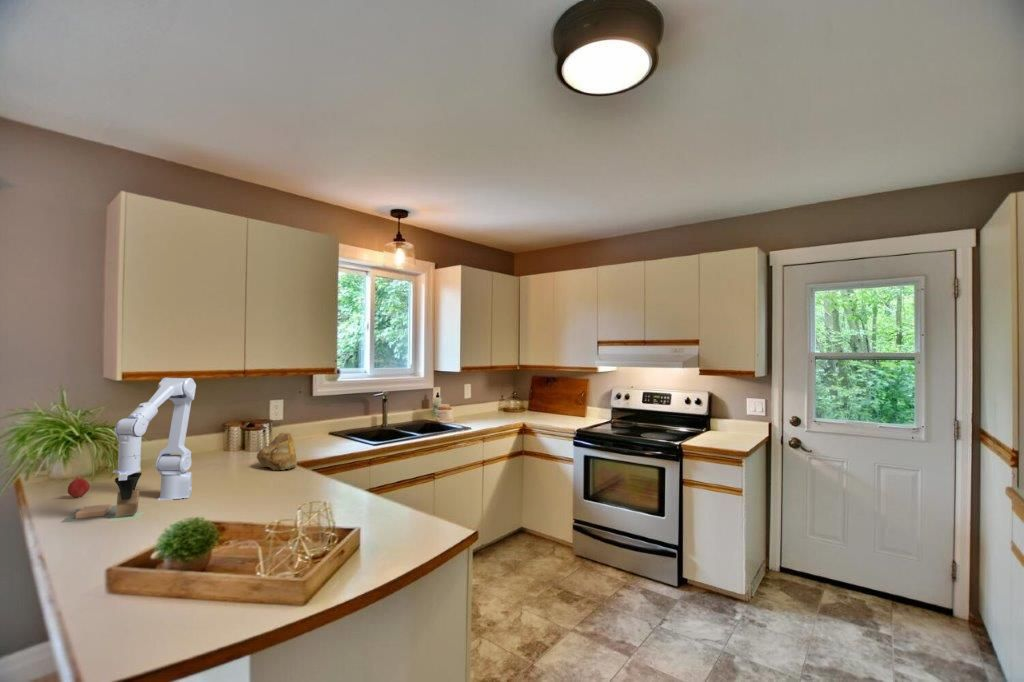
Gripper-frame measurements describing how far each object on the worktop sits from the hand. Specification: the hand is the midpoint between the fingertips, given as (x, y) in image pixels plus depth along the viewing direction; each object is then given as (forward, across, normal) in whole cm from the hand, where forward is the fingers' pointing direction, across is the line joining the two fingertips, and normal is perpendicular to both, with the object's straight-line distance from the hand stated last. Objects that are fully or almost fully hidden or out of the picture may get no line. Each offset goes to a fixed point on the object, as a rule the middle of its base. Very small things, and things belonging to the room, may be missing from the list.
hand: (127, 497), depth 152 cm
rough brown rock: (+6, -58, +44) cm, 73 cm away
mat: (+6, -8, -10) cm, 14 cm away
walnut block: (+5, 0, 0) cm, 5 cm away
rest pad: (+6, 0, 0) cm, 6 cm away
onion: (+6, -32, -21) cm, 39 cm away
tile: (+5, -11, -10) cm, 16 cm away
